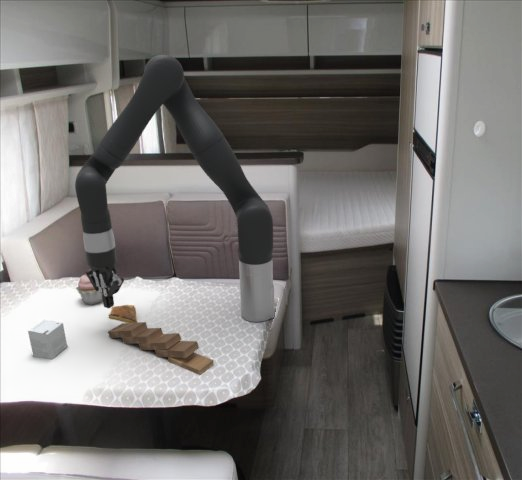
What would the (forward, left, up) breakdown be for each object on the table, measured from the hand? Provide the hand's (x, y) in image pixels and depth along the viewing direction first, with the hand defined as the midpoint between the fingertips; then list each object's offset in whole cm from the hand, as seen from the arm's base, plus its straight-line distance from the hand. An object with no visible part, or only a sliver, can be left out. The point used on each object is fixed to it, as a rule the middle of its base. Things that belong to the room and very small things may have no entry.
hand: (108, 306), depth 137 cm
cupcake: (+9, -20, -8) cm, 23 cm away
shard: (-3, -9, -8) cm, 13 cm away
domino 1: (-1, +1, -7) cm, 7 cm away
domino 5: (-18, +15, -7) cm, 24 cm away
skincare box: (+14, +8, -8) cm, 18 cm away
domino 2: (-5, +5, -7) cm, 10 cm away
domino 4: (-15, +12, -7) cm, 20 cm away
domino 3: (-10, +8, -7) cm, 15 cm away
